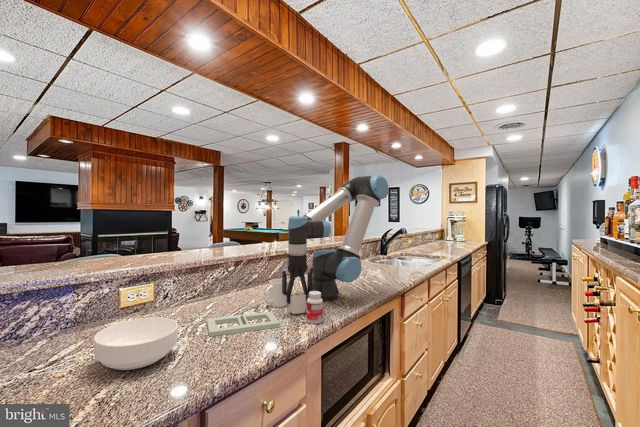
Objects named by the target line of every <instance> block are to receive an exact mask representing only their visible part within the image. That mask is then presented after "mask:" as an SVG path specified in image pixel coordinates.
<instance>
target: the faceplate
mask: <svg viewBox="0 0 640 427" xmlns="http://www.w3.org/2000/svg"><path fill="white" fill-rule="evenodd" d="M261 319H266V320H267V321H265V322H264V321H263V322H256V323H249V321H253V320H261ZM236 322H237V325H232V326H226V327H217V325H221V324H229V323H236ZM206 325H207V332H208V337H209V338H210V337H218V336H225V335H232V334H233V335H234V334H238V333H239V334H240V333H247V332H252V331H261V330H268V329H275V328H280V327H281V322H280V321H279V320H278V318H276V316H275V315H274V313H273V312H272V311H263V312H257V313H256V312H254V313H246V314H237V315H229V316H220V317H212V318H211V317H210V318H207V320H206Z"/></svg>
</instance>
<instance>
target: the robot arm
mask: <svg viewBox="0 0 640 427" xmlns="http://www.w3.org/2000/svg"><path fill="white" fill-rule="evenodd" d="M389 188H390V187H389V184H388V181H387V179H386V178H385V177H384V176H383V175H380V174H377V175H376V174H373V175H366V176H357V177H354V178H352V179H350V180H348V181H347V182H345V183H344V184H342V185H341V186H340V187H338V189H337V191H335V193H333V194H332V195H330V196H329V197H327V198H326V199H325V200H323V201H322V202H321V203H319V204H317V205H316V206H315V207H313V208H312V209H310V210H309V211H308V212H306V213H304V215H302V216H301V215H300V216H298V215H296V216H294V215H293V216H292V215H291V216H290V217H289V218H288V224H287V225H288V226H287V228H288V229H287V232H288V234H287V236H288V238H287V239H288V248H287V249H288V252H287V253H288V254H287V255H288V256H287V258H288V259H287V261H288V262H287V267H286V268H285V269H281V270H280V274H281V275H282V276H281V279H282V293H283V294H284V295H286V296H287V304H288V311H289V313H292V307H293V296H292V295H291V293H293V288H294V284H295V280H296V278H298V277H299V280H300V283H301V288H302V291H303V292H302V293H303V294H304V295H305V311H307V299H308V298H309V292H310V291H319V292H321V297H320V298H322V300H323V301H324V302H325V301H333V300H337V299H339V297H340V292H339V288H338V284H337V281H339V282H343V283H352V282H354V281H356V280H357V279H358V278H359V277H360V275H361V272H362V269H363V267H362V262H361V260H360V259H361V255H360V249H361V247H362V244H363V241H364V238H365V235H366V233H367V230H368V227H369V224H370V222H371V218H372V216H373V213H374V210H375V208H376V207H378V206H379V205H380V203H381V200H384V199H385V198H387V197H388V195H389V193H390V192H389V191H390V190H389ZM356 200H357V204H356V206H355V208H354V211H353V214H352V216H351V219H350V222H349V224H348V227H347V229H346V233H345V234H344V238H343V240H342V243H341V245H340V246H338V247H336V249H320V250H314V251H313V253H312V266H311V267H309V266H308V265H307V263H308V261H307V256H308V255H307V254H308V253H307V252H308V251H307V249H308V247H307V246H308V245H307V244H308V239H309V240H310V239H323V238H328V237H329V236H330V235H331V232H332V226H331V223H330V222H329V221H328V220H326V219H327V218H328V217H329V216H331V215H333V214H334V213H335V212H336V211H337V210H339V209H340V208H342V207H343V206H344V205H347V204H351V203H352V202H353V201H356ZM306 272H307V273H306ZM288 273H289V279H288V276H287V275H288ZM305 273H306V274H307V281H306V276H305ZM287 280H289V284H288V288H287Z"/></svg>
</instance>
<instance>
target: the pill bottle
mask: <svg viewBox="0 0 640 427" xmlns="http://www.w3.org/2000/svg"><path fill="white" fill-rule="evenodd" d="M320 297H321V292H319V291H310V292H309V296H308V299H307V302H306V317H305V318H306V322H307V323H308V324H312V325H315V324H317V325H318V324H320V323H322V322H323V310H324V309H323V306H324V305H323V303H324V302H323V300H322V298H320Z"/></svg>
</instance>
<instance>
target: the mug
mask: <svg viewBox="0 0 640 427" xmlns="http://www.w3.org/2000/svg"><path fill="white" fill-rule="evenodd" d="M289 280H290V279H287V288H288V284H289ZM268 284H269V285H268V287H267V288H266V291H265V293H264V294H265V295H264V298H265V302H266V304H268V305H269V306H270V307H272V308H285V307H287V306H289V304H287V296H286V295H284V294H283V293H282V278H274V279H270V280H269V283H268ZM267 295H268V299H267Z"/></svg>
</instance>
